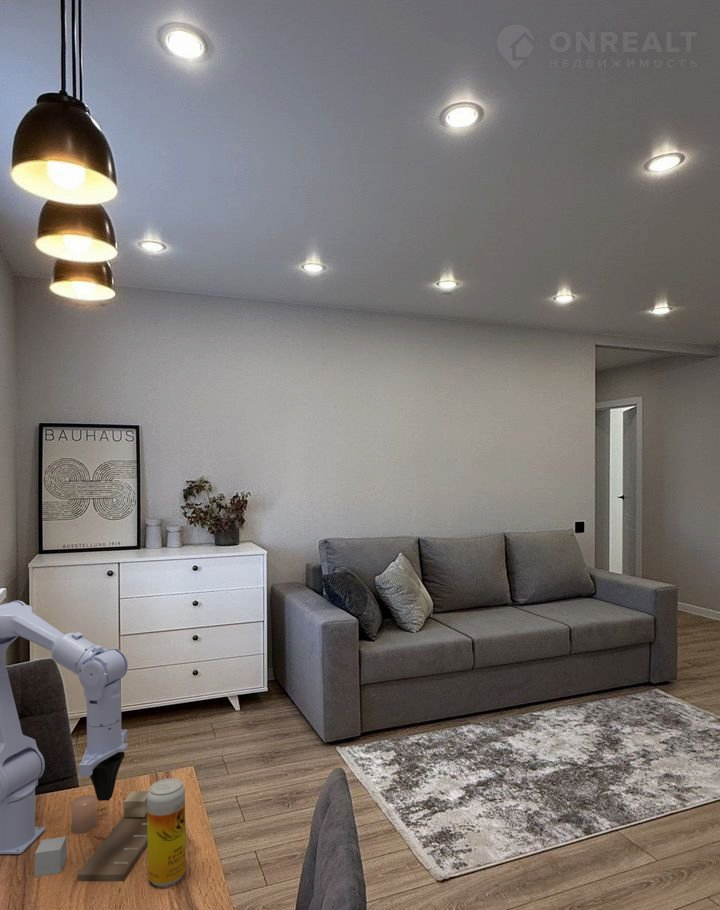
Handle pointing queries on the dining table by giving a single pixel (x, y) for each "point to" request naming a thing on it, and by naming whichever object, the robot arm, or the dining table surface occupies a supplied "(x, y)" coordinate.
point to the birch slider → (136, 804)
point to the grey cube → (50, 856)
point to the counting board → (117, 851)
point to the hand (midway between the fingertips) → (104, 798)
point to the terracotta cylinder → (83, 814)
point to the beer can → (166, 832)
